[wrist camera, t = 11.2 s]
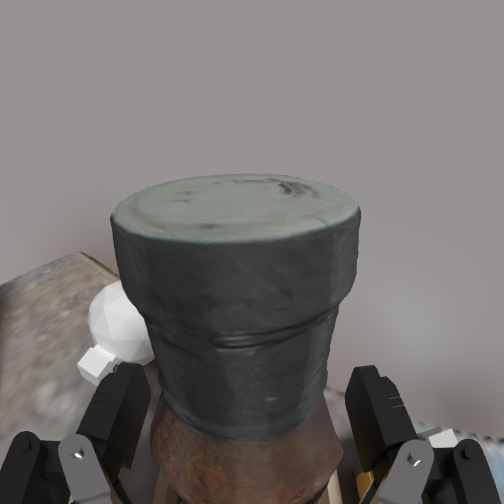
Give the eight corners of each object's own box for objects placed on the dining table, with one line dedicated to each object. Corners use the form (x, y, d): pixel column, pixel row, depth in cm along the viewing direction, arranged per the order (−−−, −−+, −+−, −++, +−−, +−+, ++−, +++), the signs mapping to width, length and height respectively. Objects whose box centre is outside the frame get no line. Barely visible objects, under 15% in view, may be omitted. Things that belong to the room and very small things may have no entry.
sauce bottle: (311, 489, 14) (434, 188, 6) (277, 559, 9) (572, 382, 1) (226, 461, 16) (201, 159, 8) (183, 523, 11) (-8, 225, 3)
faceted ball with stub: (121, 306, 33) (65, 373, 23) (119, 249, 28) (42, 320, 18) (181, 337, 32) (132, 417, 22) (191, 282, 27) (124, 377, 17)
